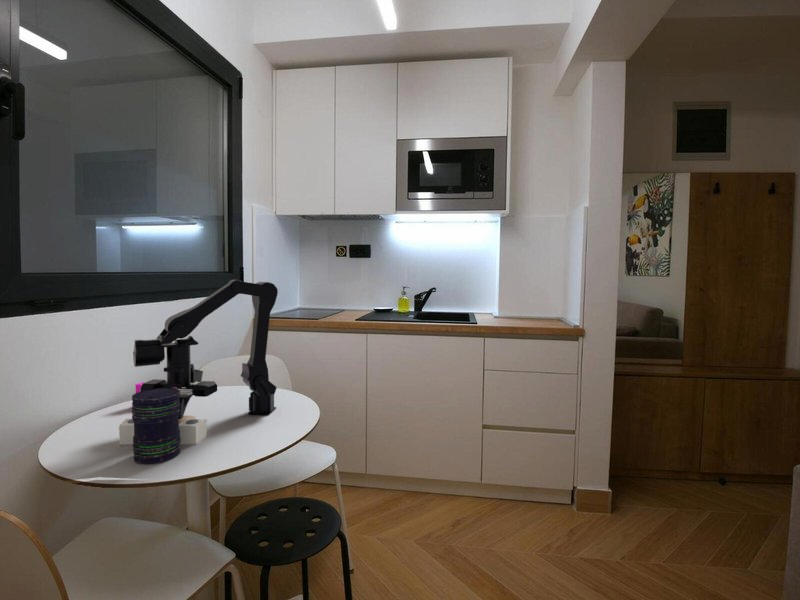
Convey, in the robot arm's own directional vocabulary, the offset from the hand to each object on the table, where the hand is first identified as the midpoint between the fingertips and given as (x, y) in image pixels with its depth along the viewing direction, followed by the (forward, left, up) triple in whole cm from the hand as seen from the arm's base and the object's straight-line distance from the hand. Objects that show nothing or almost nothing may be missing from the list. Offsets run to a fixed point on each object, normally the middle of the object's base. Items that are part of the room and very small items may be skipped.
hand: (179, 418), depth 116 cm
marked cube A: (-7, +6, -4) cm, 10 cm away
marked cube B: (+8, +7, -4) cm, 11 cm away
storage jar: (-4, +15, -4) cm, 16 cm away
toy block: (+21, -25, -4) cm, 33 cm away
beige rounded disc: (0, 0, -4) cm, 4 cm away
